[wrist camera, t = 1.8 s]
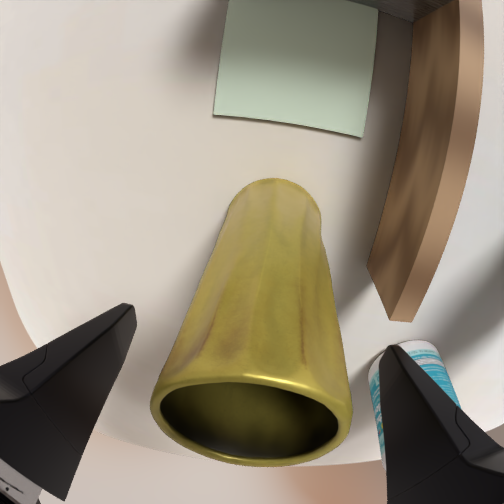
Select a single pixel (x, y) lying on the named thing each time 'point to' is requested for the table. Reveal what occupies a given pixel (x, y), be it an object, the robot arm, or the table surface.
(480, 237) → the table surface
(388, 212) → the back rail
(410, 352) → the pill bottle
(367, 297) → the table surface
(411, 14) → the bookend
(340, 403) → the vase
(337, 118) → the mat
